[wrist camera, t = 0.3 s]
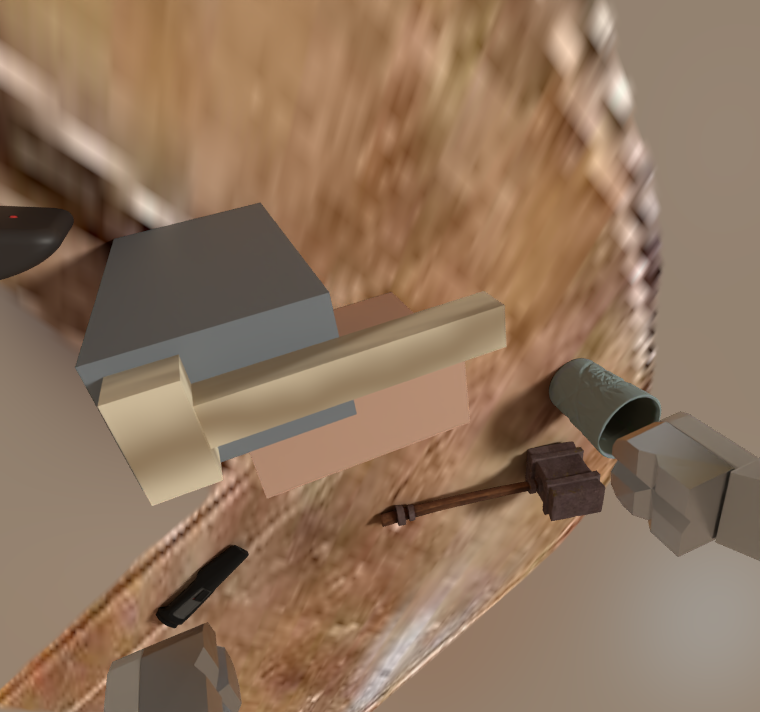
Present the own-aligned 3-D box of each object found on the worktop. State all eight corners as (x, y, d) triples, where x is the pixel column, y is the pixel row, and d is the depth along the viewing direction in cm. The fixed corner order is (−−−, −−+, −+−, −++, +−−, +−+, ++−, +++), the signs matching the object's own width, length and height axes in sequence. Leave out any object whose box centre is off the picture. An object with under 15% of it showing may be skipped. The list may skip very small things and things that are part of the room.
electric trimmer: (254, 543, 72) (257, 561, 70) (176, 618, 73) (176, 638, 71) (233, 532, 70) (236, 550, 68) (153, 610, 71) (153, 630, 69)
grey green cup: (599, 344, 78) (664, 383, 68) (600, 397, 83) (660, 440, 73) (541, 370, 76) (598, 414, 66) (545, 422, 81) (599, 470, 71)
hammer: (572, 470, 87) (603, 515, 78) (377, 506, 84) (387, 557, 75) (576, 438, 83) (609, 481, 75) (373, 474, 81) (383, 524, 72)
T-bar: (103, 377, 28) (97, 406, 26) (482, 262, 33) (508, 277, 31) (152, 472, 32) (152, 506, 29) (487, 355, 37) (511, 375, 34)
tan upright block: (222, 343, 57) (243, 437, 42) (391, 291, 62) (464, 361, 47) (241, 394, 61) (267, 498, 46) (399, 342, 65) (470, 422, 50)
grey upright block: (113, 238, 49) (74, 367, 27) (260, 202, 52) (329, 292, 30) (150, 323, 54) (142, 489, 32) (283, 285, 57) (356, 414, 35)
